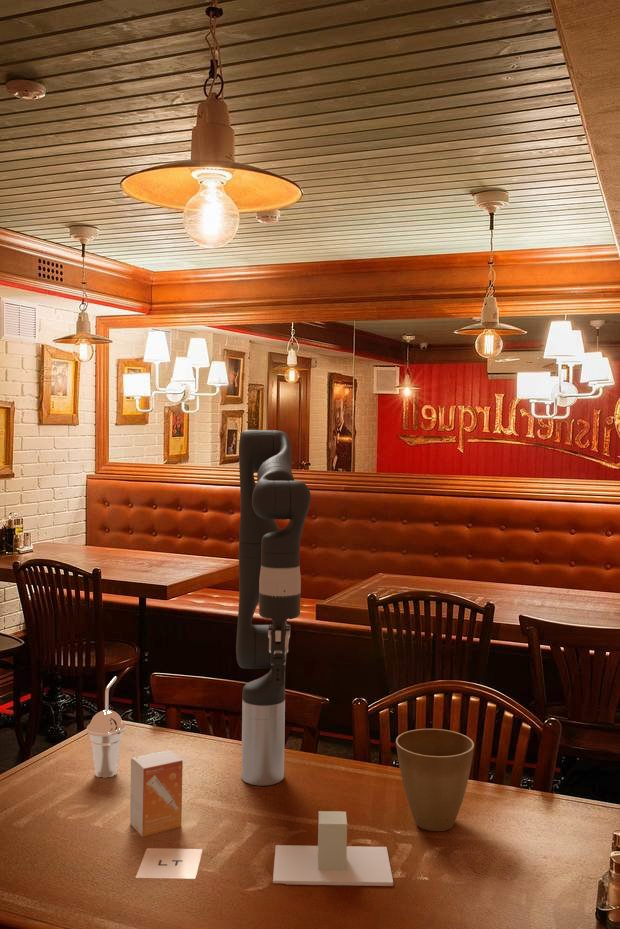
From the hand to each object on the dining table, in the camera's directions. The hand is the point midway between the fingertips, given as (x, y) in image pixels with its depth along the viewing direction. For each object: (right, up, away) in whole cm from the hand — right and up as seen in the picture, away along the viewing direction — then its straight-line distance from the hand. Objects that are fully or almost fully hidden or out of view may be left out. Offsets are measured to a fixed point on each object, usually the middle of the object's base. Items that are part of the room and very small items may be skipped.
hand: (278, 678), depth 154 cm
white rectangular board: (+10, -31, -8) cm, 33 cm away
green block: (+10, -30, -8) cm, 32 cm away
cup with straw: (-39, -29, +30) cm, 57 cm away
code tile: (-18, -30, -8) cm, 36 cm away
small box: (-23, -30, +6) cm, 38 cm away
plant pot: (+29, -31, +9) cm, 43 cm away
